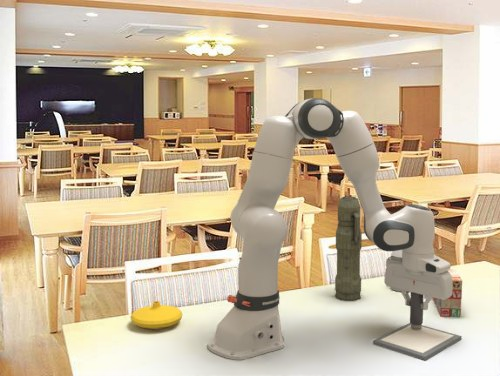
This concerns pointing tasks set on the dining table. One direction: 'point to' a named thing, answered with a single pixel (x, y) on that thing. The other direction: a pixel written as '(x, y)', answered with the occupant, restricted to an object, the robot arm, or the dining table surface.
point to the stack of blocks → (451, 299)
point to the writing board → (417, 341)
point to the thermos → (348, 250)
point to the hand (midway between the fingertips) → (416, 307)
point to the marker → (416, 310)
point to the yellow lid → (156, 316)
